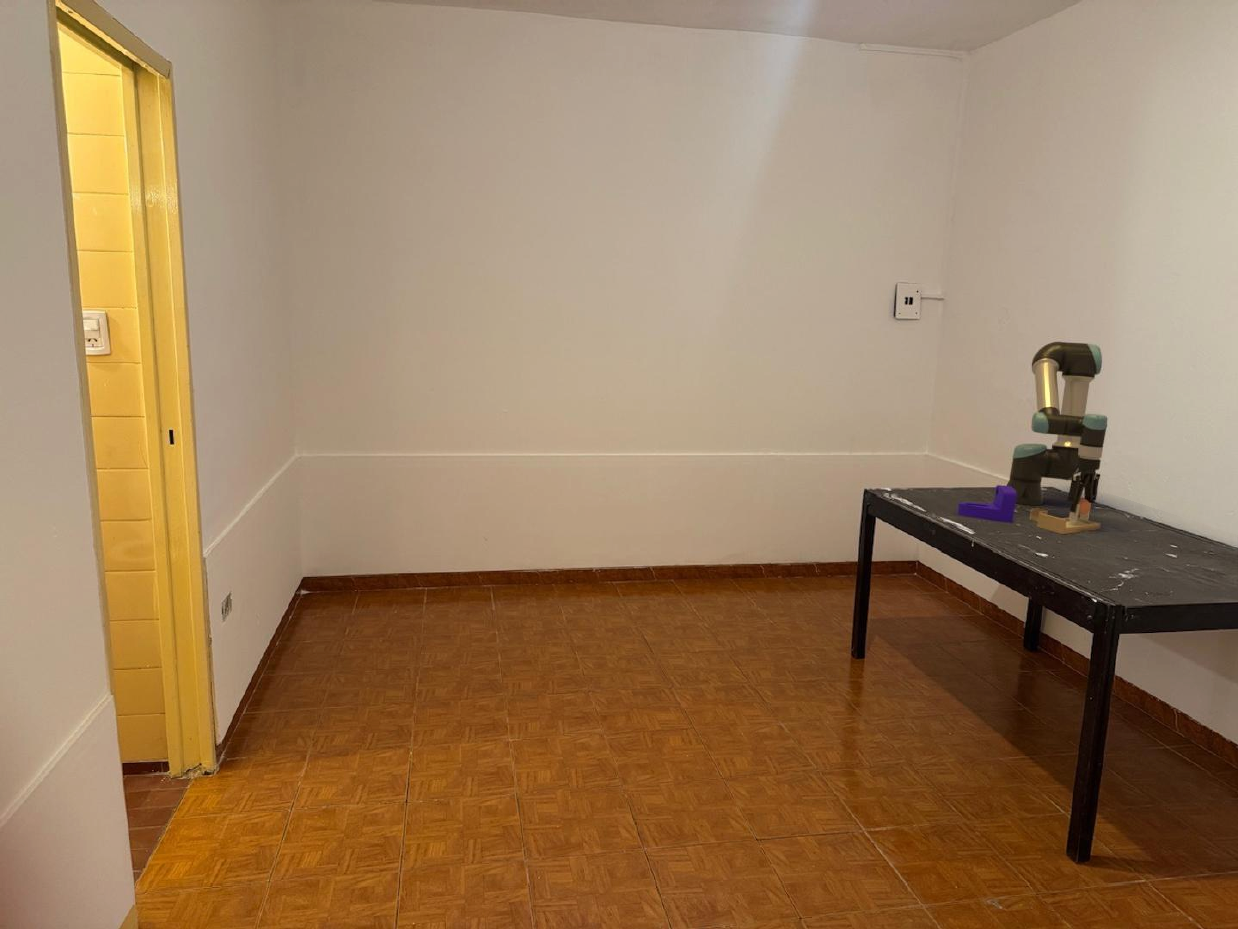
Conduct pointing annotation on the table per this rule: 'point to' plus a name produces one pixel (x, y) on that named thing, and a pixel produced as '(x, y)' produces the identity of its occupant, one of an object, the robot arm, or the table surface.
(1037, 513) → the open wooden box
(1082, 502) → the ball
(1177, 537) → the table surface
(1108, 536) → the table surface
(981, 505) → the bracket
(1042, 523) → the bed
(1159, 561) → the table surface
